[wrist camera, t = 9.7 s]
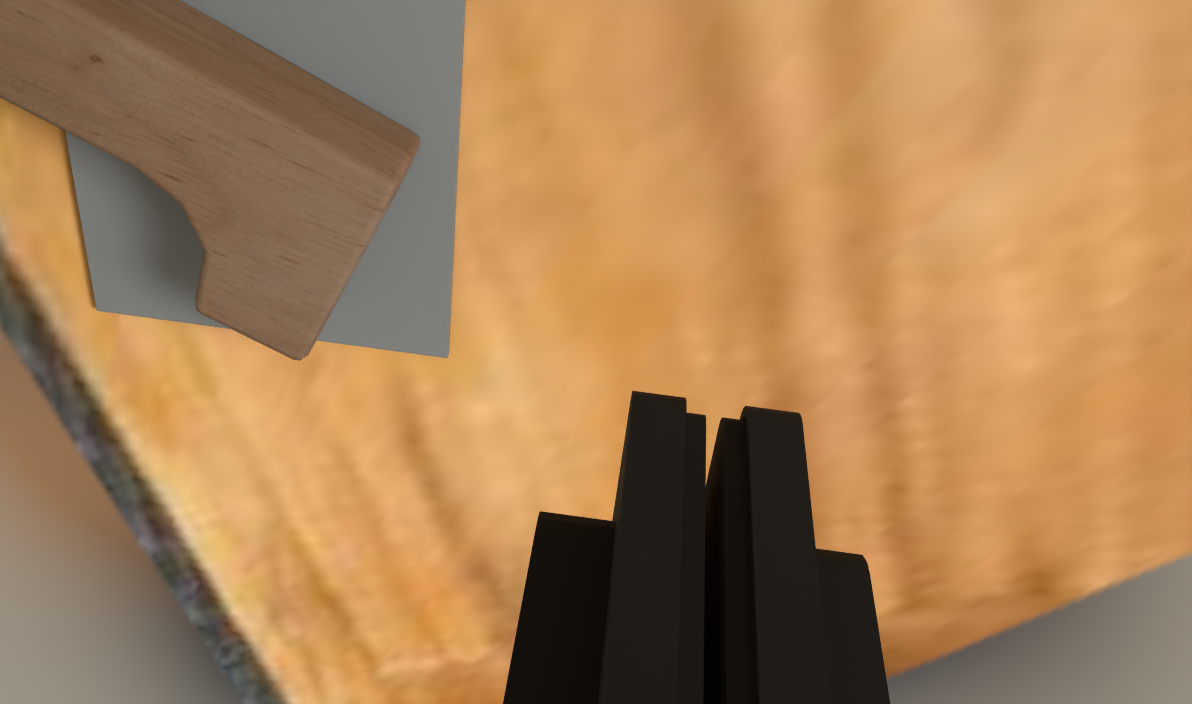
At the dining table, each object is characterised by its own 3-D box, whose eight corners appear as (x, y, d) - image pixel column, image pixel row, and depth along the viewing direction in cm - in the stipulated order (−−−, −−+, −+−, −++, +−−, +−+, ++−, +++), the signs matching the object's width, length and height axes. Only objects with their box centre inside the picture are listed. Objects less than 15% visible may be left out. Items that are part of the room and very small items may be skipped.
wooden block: (301, 368, 41) (-186, 128, 37) (333, 305, 45) (-106, 81, 40) (400, 187, 36) (-144, -112, 32) (426, 134, 40) (-58, -140, 36)
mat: (472, -151, 35) (470, -149, 35) (448, 352, 46) (447, 358, 46) (10, -216, 35) (4, -214, 34) (100, 305, 46) (96, 310, 46)
